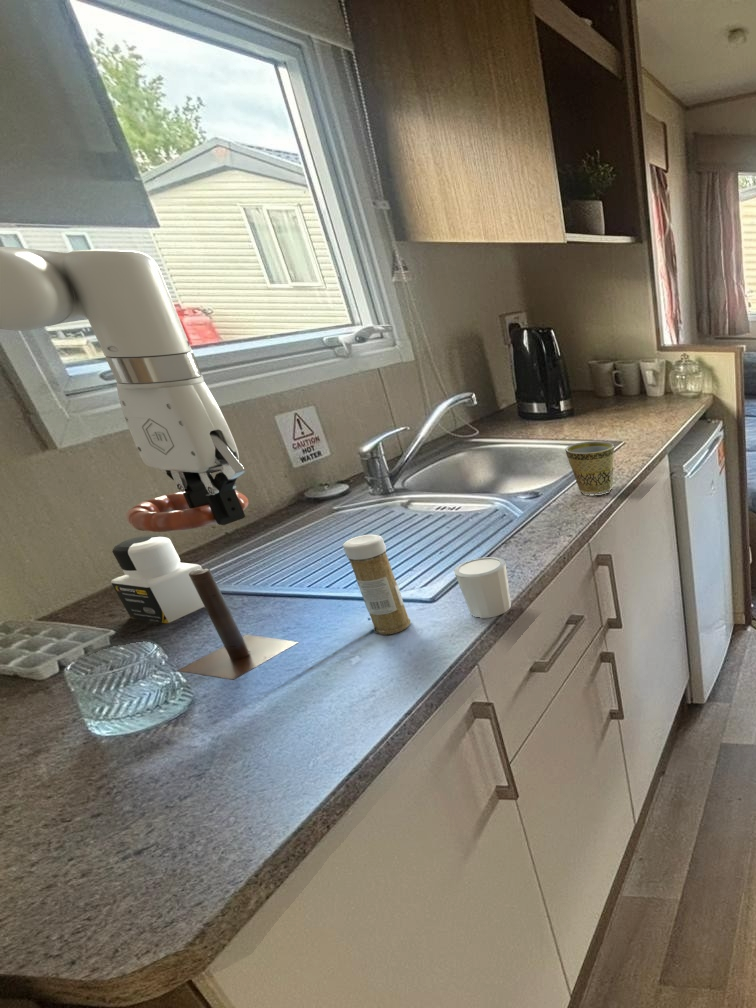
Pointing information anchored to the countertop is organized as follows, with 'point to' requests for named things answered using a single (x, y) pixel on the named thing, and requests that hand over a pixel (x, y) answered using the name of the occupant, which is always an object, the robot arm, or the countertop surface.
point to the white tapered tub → (484, 586)
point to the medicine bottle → (155, 580)
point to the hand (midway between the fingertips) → (220, 519)
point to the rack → (229, 637)
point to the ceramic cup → (592, 466)
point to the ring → (173, 514)
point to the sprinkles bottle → (377, 583)
